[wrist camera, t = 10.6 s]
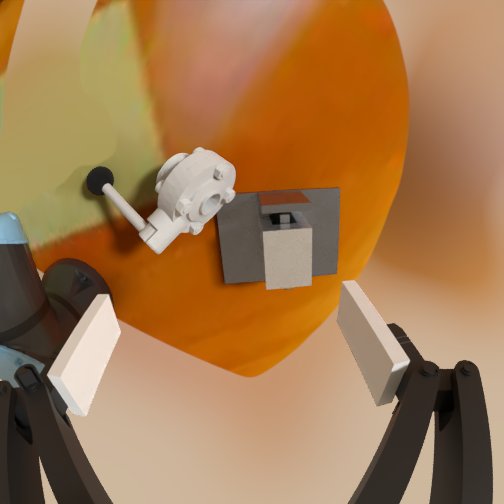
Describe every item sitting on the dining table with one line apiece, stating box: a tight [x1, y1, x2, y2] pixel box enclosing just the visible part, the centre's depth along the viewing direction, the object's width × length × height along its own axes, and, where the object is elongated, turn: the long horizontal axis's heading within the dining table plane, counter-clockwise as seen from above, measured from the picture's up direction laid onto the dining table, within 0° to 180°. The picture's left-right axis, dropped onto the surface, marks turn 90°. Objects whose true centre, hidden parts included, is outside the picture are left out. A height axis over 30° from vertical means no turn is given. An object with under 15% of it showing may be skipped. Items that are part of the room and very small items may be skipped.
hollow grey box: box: [259, 211, 312, 290], centre depth 40 cm, size 6×8×8 cm
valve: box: [87, 147, 236, 254], centre depth 36 cm, size 10×18×15 cm
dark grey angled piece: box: [217, 188, 340, 284], centre depth 40 cm, size 18×14×8 cm
